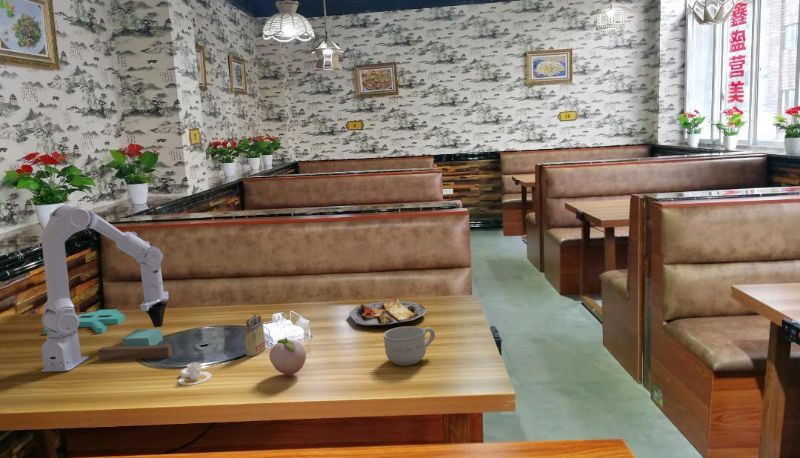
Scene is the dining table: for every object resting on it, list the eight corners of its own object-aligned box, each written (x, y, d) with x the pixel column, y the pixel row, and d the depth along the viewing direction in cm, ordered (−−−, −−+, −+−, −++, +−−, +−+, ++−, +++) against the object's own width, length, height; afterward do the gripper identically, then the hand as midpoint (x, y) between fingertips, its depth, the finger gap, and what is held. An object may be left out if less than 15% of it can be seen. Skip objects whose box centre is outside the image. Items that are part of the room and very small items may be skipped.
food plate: (343, 312, 197) (342, 302, 196) (409, 302, 203) (409, 292, 203) (361, 336, 173) (360, 324, 172) (435, 324, 180) (435, 312, 179)
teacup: (391, 372, 145) (389, 341, 144) (380, 357, 155) (378, 328, 154) (444, 363, 149) (442, 333, 147) (430, 349, 159) (429, 320, 158)
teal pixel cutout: (102, 334, 189) (136, 314, 209) (101, 327, 189) (135, 308, 209) (44, 335, 192) (83, 316, 211) (43, 329, 191) (82, 310, 211)
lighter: (254, 357, 161) (251, 321, 159) (242, 356, 162) (238, 321, 160) (268, 347, 167) (264, 313, 166) (256, 346, 169) (252, 313, 167)
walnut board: (168, 357, 164) (167, 347, 164) (99, 360, 165) (97, 350, 165) (171, 354, 166) (170, 344, 166) (103, 357, 167) (101, 347, 167)
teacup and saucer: (178, 376, 152) (176, 361, 151) (210, 370, 155) (208, 355, 154) (178, 389, 144) (176, 373, 143) (212, 382, 146) (210, 367, 146)
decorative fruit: (315, 374, 147) (311, 336, 145) (287, 386, 141) (283, 346, 139) (293, 365, 153) (290, 328, 152) (266, 375, 148) (262, 337, 146)
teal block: (150, 351, 171) (148, 338, 170) (123, 351, 172) (121, 338, 171) (163, 341, 179) (161, 328, 178) (137, 341, 180) (136, 329, 179)
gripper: (154, 290, 174) (160, 333, 177) (175, 277, 189) (180, 318, 191) (131, 291, 175) (137, 334, 177) (154, 278, 189) (159, 319, 191)
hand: (158, 326), depth 184 cm, fingers closed
